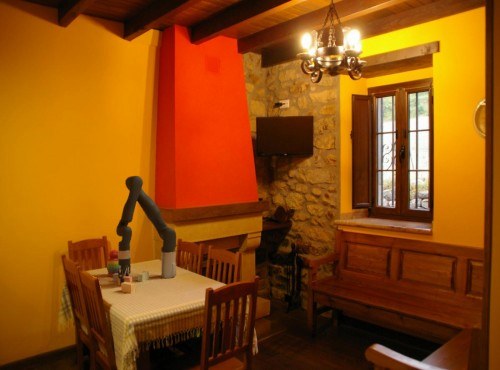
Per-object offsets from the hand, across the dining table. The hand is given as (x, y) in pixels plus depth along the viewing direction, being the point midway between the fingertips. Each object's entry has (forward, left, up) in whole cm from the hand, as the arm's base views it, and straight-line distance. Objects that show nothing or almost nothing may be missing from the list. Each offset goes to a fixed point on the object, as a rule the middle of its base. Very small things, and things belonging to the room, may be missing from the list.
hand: (124, 282), depth 256 cm
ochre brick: (-8, +14, -1) cm, 16 cm away
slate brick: (+6, -7, -1) cm, 9 cm away
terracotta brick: (0, 0, -1) cm, 1 cm away
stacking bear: (+16, -21, -1) cm, 26 cm away
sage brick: (-8, -11, -1) cm, 14 cm away
